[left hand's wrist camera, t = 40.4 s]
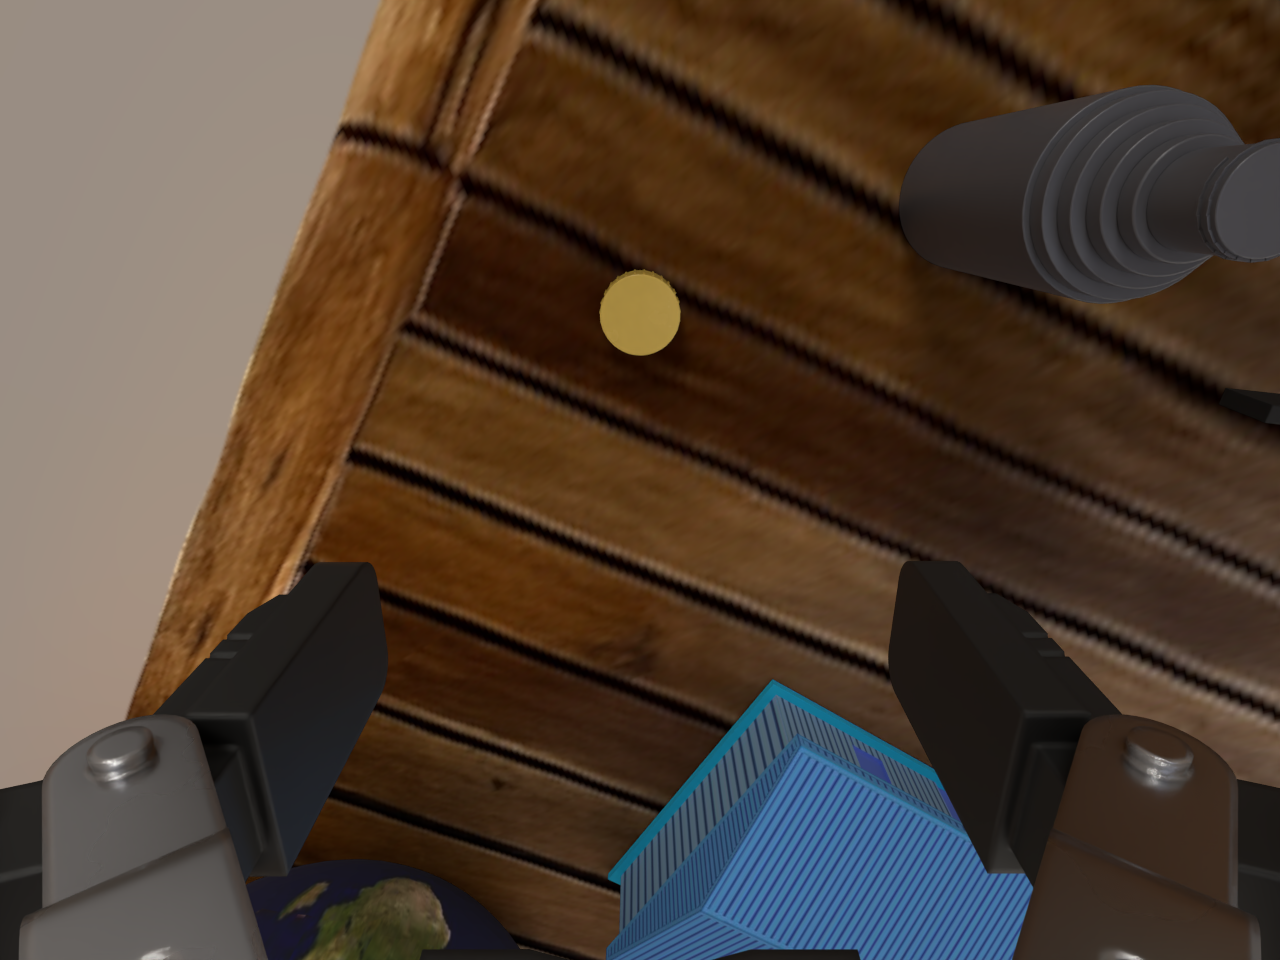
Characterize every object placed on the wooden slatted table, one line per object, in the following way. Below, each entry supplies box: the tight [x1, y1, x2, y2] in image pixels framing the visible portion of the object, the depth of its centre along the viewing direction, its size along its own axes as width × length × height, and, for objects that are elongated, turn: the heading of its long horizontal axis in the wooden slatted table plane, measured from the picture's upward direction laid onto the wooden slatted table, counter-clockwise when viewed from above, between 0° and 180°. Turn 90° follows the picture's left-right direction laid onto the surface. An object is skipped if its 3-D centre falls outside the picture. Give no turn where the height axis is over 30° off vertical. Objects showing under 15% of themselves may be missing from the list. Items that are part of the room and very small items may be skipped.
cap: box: [599, 269, 681, 355], centre depth 39 cm, size 4×4×2 cm
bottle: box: [899, 85, 1280, 304], centre depth 29 cm, size 7×7×20 cm
